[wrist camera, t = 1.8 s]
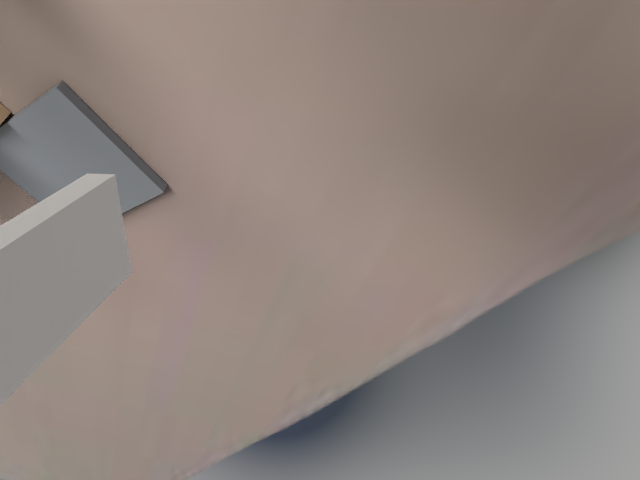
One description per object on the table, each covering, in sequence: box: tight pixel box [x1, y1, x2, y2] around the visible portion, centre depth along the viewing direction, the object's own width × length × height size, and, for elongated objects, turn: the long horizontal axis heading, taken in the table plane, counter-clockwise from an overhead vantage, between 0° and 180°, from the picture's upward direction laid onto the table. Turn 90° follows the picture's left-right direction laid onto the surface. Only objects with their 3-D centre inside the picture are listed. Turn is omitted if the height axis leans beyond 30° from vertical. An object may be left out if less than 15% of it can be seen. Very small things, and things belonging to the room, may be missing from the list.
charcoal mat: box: [0, 81, 167, 213], centre depth 52 cm, size 12×12×1 cm
